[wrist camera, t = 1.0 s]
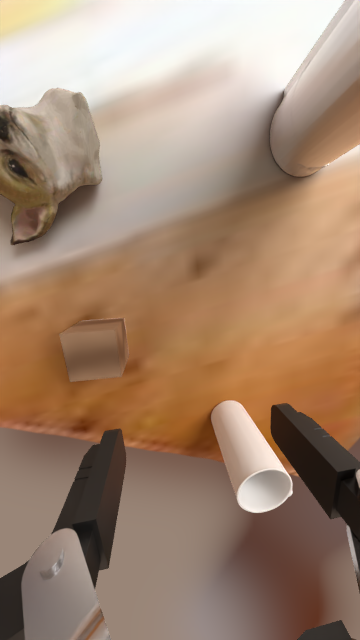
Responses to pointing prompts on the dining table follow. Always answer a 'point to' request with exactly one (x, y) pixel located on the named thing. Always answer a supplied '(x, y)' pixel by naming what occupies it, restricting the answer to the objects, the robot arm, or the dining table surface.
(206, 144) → the dining table surface
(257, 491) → the mug
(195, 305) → the dining table surface
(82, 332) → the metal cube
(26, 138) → the ceramic sculpture
